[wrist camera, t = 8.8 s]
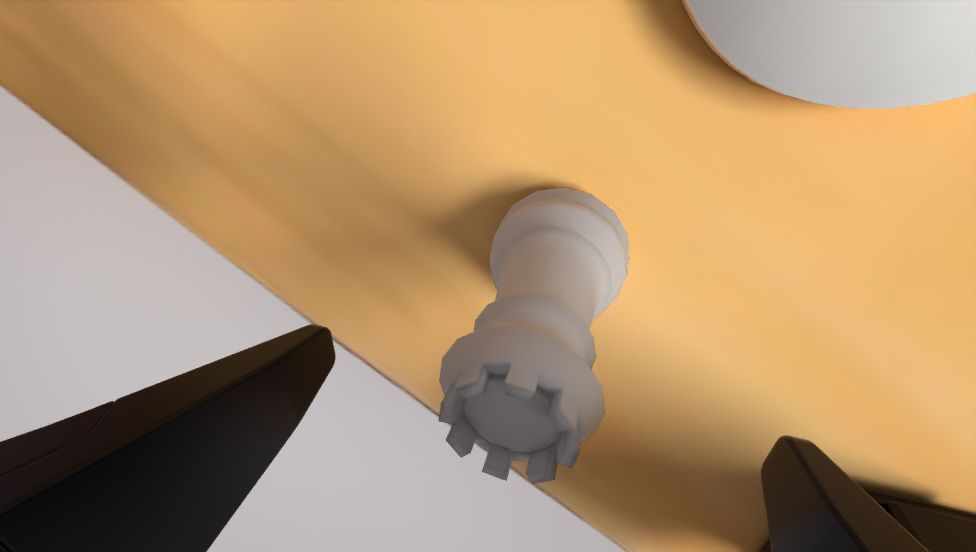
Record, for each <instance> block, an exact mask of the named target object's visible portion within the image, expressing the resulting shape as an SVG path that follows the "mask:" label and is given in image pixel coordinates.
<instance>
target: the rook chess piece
mask: <svg viewBox="0 0 976 552" xmlns="http://www.w3.org/2000/svg"><path fill="white" fill-rule="evenodd" d="M629 260H630V259H629V245H628V234H627V232H626V231H625V229H624V227H623V225H622V224H621V222H620V220H619V218H618V217H617V215H616V213H615V211H614V210H612V209H611V208H609V207H608V206H607V205H605V204H604V203H603V202H601V201H600V200H599V199H597V198H596V197H594V196H593V195H592V194H588V193H584V192H580V191H576V190H572V189H568V188H564V187H562V188H555V189H548V190H541V191H535V192H533V193H532V194H530V195H528V196H527V197H525V198H523V199H522V200H520V201H518V202H517V203H515V204H513V205H512V207H511V208H510V209H509V211H508V212H507V214H506V215H505V216H504V218H503V219H502V221H501V222H500V224H499V226H498V230H497V232H496V233H495V235H494V237H493V243H492V248H491V254H490V268H491V272H492V276H493V280H494V284H495V287H496V288H497V295H496V299H495V302H493V303H491V304H488V305H487V306H486V308H485V309H484V310H483V311H482V313H481V314H480V315H479V316H478V318H477V319H476V320H475V326H474V332H473V333H471V334H468V335H466V336H464V337H461V338H459V339H457V340H456V342H455V343H454V344H453V345H452V347H451V348H450V349H449V350H448V352H447V353H446V354H445V355H444V357H443V358H442V364H441V372H440V380H439V381H440V384H441V387H442V390H443V392H444V395H445V397H444V399H443V401H442V403H441V408H440V415H439V421H440V422H445V423H449V424H453V425H452V427H451V430H450V432H449V434H448V436H447V438H446V441H447V442H448V443H449V444H450V445H451V447H452V448H453V449H454V450H455V451H456V452H457V454H458V455H459V456H460V457H463V456H465V455H467V454H469V453H471V450H472V447H473V445H474V442H475V443H477V444H478V445H480V446H481V447H483V448H484V449H486V450H487V451H488V454H487V458H486V461H485V464H484V467H483V470H482V472H484V473H487V474H490V475H493V476H495V477H498V478H500V479H503V480H507V477H508V473H509V469H510V465H511V461H512V460H517V461H527V462H528V467H527V471H526V474H527V476H528V478H529V480H530V481H531V483H532V484H533V483H539V482H545V481H551V480H555V474H556V467H557V462H559V463H561V464H563V465H565V466H567V467H569V468H571V469H572V467H573V465H574V463H575V460H576V458H577V456H578V454H579V452H580V443H581V442H583V441H584V440H586V439H587V438H589V437H590V436H592V435H593V434H595V431H596V429H597V427H598V425H599V423H600V421H601V419H602V417H603V415H604V412H605V409H604V401H603V393H602V385H601V384H600V382H599V381H598V379H597V378H596V376H595V375H594V373H593V372H592V370H591V368H592V366H593V363H594V361H595V358H596V354H595V346H594V338H593V335H592V334H591V332H590V331H589V327H590V324H591V322H592V319H594V318H595V317H597V316H599V315H600V314H601V313H602V312H603V311H604V310H605V309H606V308H607V307H608V306H609V305H610V304H611V303H612V302H614V301H615V300H616V298H617V296H618V295H619V293H620V290H621V288H622V285H623V283H624V280H625V278H626V275H627V273H628V268H627V265H628V262H629Z"/></svg>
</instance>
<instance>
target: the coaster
mask: <svg viewBox="0 0 976 552" xmlns="http://www.w3.org/2000/svg"><path fill="white" fill-rule="evenodd" d="M681 1H682V3H683V6H684V7H685V9H686V11H687V13H688V15H689V17H690V19H691V21H692V23H693V25H694V26H695V28H696V30H697V31H698V32H699V34H700V35H701V36H702V38H703V39H704V40H705V42H706V43H707V44H708V46H709V47H710V48H711V50H713V51H714V52H715V53H716V54H717V55H718V56H719V57H720V58H721V59H722V60H723V61H724V62H725V63H726V64H727V65H728V66H729V67H731V68H732V69H734V70H735V71H737V72H738V73H740V74H741V75H743V76H744V77H746V78H747V79H749V80H750V81H752V82H754V83H756V84H758V85H761V86H763V87H765V88H767V89H769V90H772V91H774V92H777V93H780V94H784V95H787V96H791V97H794V98H798V99H802V100H805V101H809V102H813V103H817V104H823V105H830V106H838V107H845V108H870V109H888V108H897V107H907V106H917V105H926V104H930V103H935V102H940V101H945V100H950V99H955V98H960V97H965V96H968V95H972V94H975V93H976V0H681Z"/></svg>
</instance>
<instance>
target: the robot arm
mask: <svg viewBox="0 0 976 552" xmlns="http://www.w3.org/2000/svg"><path fill="white" fill-rule="evenodd" d="M334 363H335V350H334V345H333V340H332V335H331V331H330V330H329V329H328V328H327V327H323V326H319V325H313V324H311V325H308V326H305V327H302V328H300V329H297V330H295V331H292V332H289V333H287V334H284V335H282V336H279V337H277V338H274V339H271V340H269V341H266V342H263V343H261V344H258V345H256V346H253V347H251V348H248V349H245V350H243V351H240V352H238V353H235V354H232V355H230V356H227V357H225V358H222V359H220V360H217V361H215V362H212V363H209V364H207V365H204V366H201V367H199V368H196V369H194V370H191V371H188V372H186V373H183V374H181V375H178V376H176V377H173V378H171V379H168V380H165V381H163V382H160V383H157V384H155V385H152V386H150V387H147V388H145V389H142V390H139V391H137V392H134V393H132V394H129V395H126V396H124V397H121V398H119V399H117V400H116V401H115V402H114V401H111V402H108V403H106V404H103V405H100V406H98V407H95V408H93V409H90V410H88V411H85V412H83V413H80V414H77V415H74V416H72V417H69V418H66V419H64V420H61V421H58V422H56V423H53V424H51V425H48V426H45V427H42V428H39V429H37V430H33V431H31V432H27V433H25V434H22V435H19V436H16V437H14V438H10V439H7V440H4V441H2V442H0V552H207V550H208V549H209V547H210V546H211V545H212V543H213V542H214V540H215V539H216V538H217V536H218V535H219V534H220V532H221V531H222V530H223V528H224V527H225V525H226V524H227V523H228V521H229V520H230V518H231V517H232V516H233V514H234V513H235V512H236V510H237V509H238V508H239V506H240V505H241V503H242V502H243V501H244V499H245V498H246V496H247V495H248V494H249V492H250V491H251V490H252V488H253V487H254V485H255V484H256V483H257V481H258V480H259V479H260V477H261V476H262V474H263V473H264V472H265V470H266V469H267V468H268V466H269V465H270V464H271V462H272V461H273V459H274V458H275V457H276V455H277V454H278V452H279V451H280V450H281V448H282V447H283V446H284V444H285V443H286V441H287V440H288V439H289V437H290V436H291V434H292V433H293V431H294V430H295V429H296V427H297V426H298V424H299V423H300V421H301V420H302V418H303V416H304V415H305V413H306V411H307V410H308V408H309V406H310V405H311V403H312V401H313V399H314V398H315V396H316V394H317V393H318V391H319V389H320V388H321V386H322V384H323V383H324V381H325V379H326V378H327V376H328V374H329V372H330V371H331V369H332V367H333V365H334ZM761 479H762V486H763V493H764V500H765V507H766V514H767V521H768V528H769V535H770V540H769V541H768V543H767V544H766V545H765V547H764V548H763V549H762V551H761V552H976V518H974V517H970V516H966V515H962V514H958V513H954V512H950V511H946V510H942V509H938V508H934V507H930V506H926V505H922V504H918V503H914V502H910V501H906V500H902V499H898V498H894V497H890V496H886V495H882V494H878V493H874V492H870V491H866V490H863V489H862V488H861V487H860V486H859V485H858V484H857V483H856V482H854V481H853V480H852V479H851V478H850V477H849V476H848V475H847V474H846V473H845V472H844V471H843V470H842V469H841V468H840V467H838V466H837V465H836V464H835V463H834V462H833V461H832V460H831V459H830V458H829V457H828V456H827V455H826V454H825V453H824V452H822V451H821V450H820V449H819V448H818V447H817V446H816V445H815V444H814V443H812V442H810V441H808V440H805V439H800V438H796V437H792V436H787V435H785V436H781V437H780V438H779V439H778V440H777V442H776V443H775V445H774V446H773V448H772V450H771V451H770V453H769V454H768V456H767V458H766V459H765V461H764V463H763V465H762V469H761Z"/></svg>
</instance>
